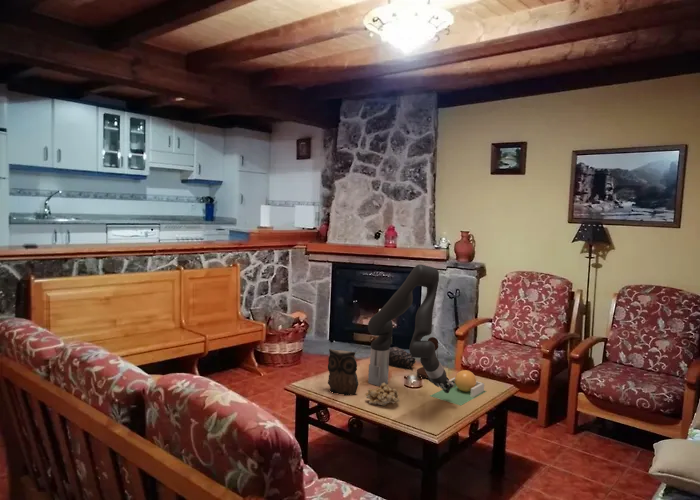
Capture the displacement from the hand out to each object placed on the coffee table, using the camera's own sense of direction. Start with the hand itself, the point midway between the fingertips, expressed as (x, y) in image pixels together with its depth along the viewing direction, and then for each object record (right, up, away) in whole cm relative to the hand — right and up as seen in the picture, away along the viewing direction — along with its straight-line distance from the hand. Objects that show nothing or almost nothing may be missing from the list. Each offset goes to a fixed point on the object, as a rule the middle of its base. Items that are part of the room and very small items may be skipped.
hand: (447, 391), depth 234 cm
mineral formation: (-29, -4, -7) cm, 30 cm away
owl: (-47, -2, +7) cm, 47 cm away
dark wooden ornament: (-2, -2, +34) cm, 34 cm away
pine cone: (-16, 0, +50) cm, 52 cm away
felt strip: (+7, -4, +9) cm, 12 cm away
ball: (+11, +2, +12) cm, 17 cm away
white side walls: (+11, -3, +14) cm, 18 cm away
